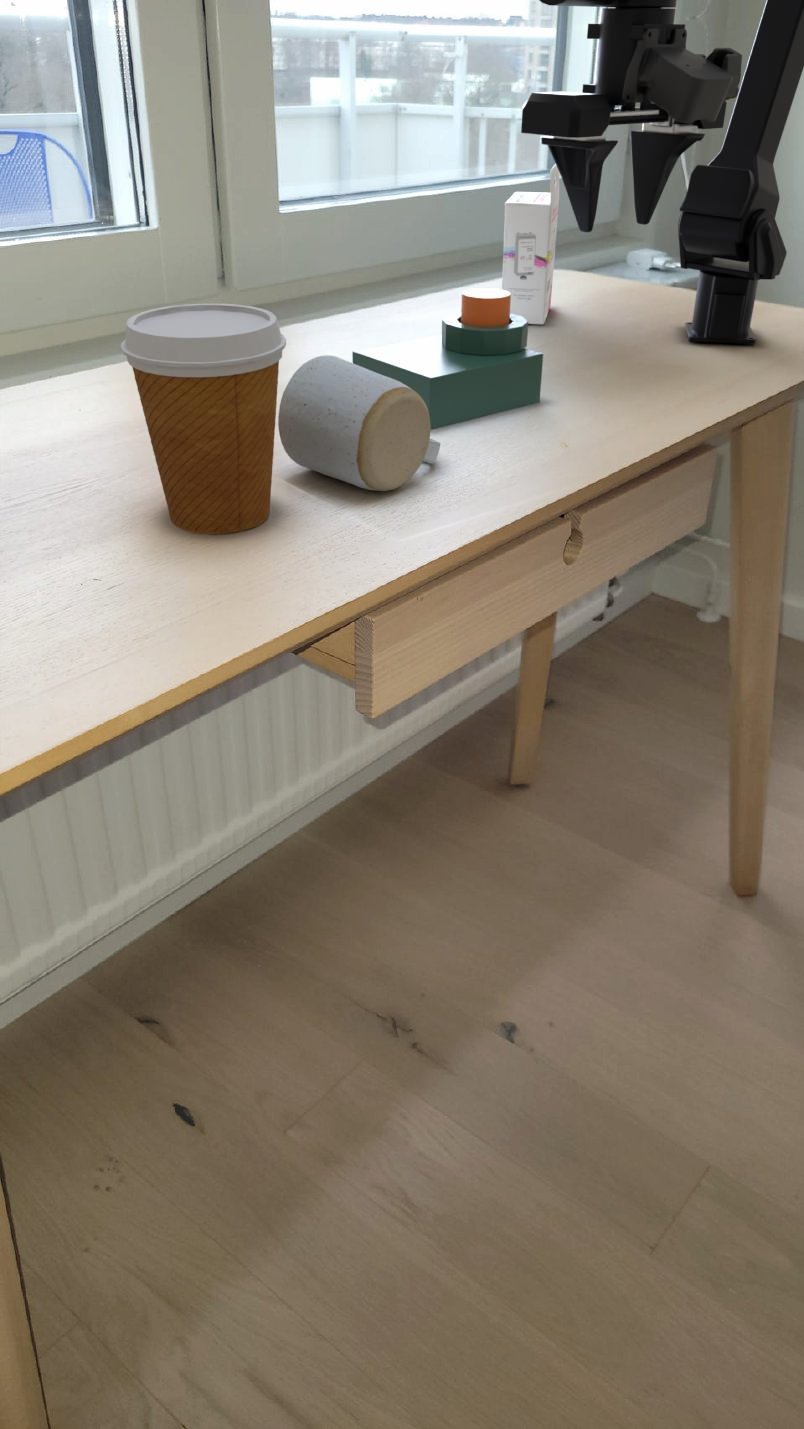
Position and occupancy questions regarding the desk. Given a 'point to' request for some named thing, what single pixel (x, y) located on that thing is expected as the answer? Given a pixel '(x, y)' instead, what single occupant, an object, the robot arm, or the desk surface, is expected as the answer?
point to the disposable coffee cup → (209, 408)
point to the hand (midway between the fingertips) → (614, 228)
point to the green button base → (463, 369)
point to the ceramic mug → (355, 424)
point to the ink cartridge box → (530, 250)
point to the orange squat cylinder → (485, 307)
